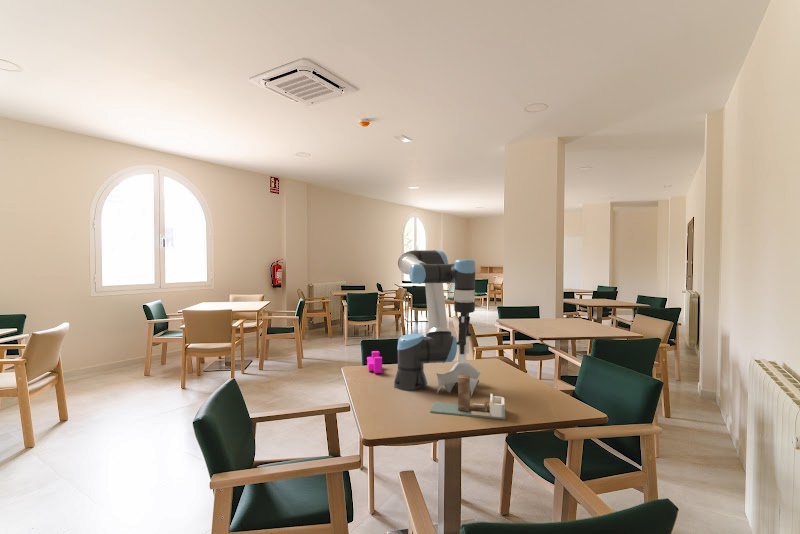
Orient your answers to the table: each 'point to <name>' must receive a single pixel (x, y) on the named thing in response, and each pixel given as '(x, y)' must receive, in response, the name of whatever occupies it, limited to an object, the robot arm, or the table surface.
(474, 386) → the sculpture
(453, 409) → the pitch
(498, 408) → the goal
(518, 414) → the table surface
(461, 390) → the tan l-shaped block
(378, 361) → the toy block
